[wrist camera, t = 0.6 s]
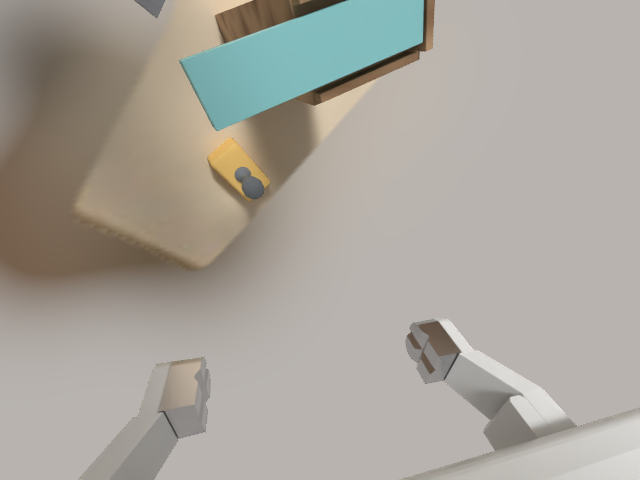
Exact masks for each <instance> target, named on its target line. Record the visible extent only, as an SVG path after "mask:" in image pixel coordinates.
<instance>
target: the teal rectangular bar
mask: <svg viewBox="0 0 640 480" xmlns="http://www.w3.org/2000/svg"><path fill="white" fill-rule="evenodd" d="M423 12H424V0H345V1H342V2H339V3H336V4H334V5H331V6H328V7H325V8H323V9H320V10H317V11H314V12H311V13H309V14H306V15H303V16H300V17H298V18H295V19H292V20H289V21H286V22H284V23H281V24H278V25H275V26H273V27H270V28H267V29H264V30H261V31H259V32H256V33H253V34H250V35H248V36H245V37H242V38H239V39H236V40H234V41H231V42H228V43H225V44H223V45H220V46H217V47H214V48H211V49H209V50H206V51H203V52H200V53H198V54H195V55H192V56H189V57H186V58H184V59H181V60H179V62H180V64H181V66H182V68H183V70H184V72H185V74H186V75H187V77H188V79H189V81H190V83H191V85H192V87H193V89H194V91H195V93H196V95H197V97H198V99H199V101H200V103H201V105H202V107H203V109H204V110H205V112H206V114H207V116H208V118H209V120H210V122H211V124H212V126H213V127H214V128H215V129H216V131H219V130H221V129H223V128H225V127H228V126H230V125H232V124H235V123H237V122H239V121H242V120H244V119H246V118H249V117H251V116H253V115H256V114H258V113H260V112H263V111H265V110H267V109H270V108H272V107H274V106H276V105H279V104H281V103H283V102H286V101H288V100H290V99H293V98H295V97H297V96H300V95H302V94H304V93H307V92H309V91H311V90H314V89H316V88H318V87H321V86H323V85H325V84H327V83H330V82H332V81H334V80H337V79H339V78H341V77H344V76H346V75H348V74H351V73H353V72H355V71H358V70H360V69H362V68H365V67H367V66H369V65H371V64H374V63H376V62H378V61H381V60H383V59H385V58H388V57H390V56H392V55H395V54H397V53H399V52H402V51H404V50H406V49H409V48H411V47H413V46H416V45H418V44H420V43H422V42H423Z"/></svg>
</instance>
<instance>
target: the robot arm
mask: <svg viewBox="0 0 640 480" xmlns="http://www.w3.org/2000/svg"><path fill="white" fill-rule="evenodd" d="M410 330H411V333H410V334H408V335H407V338H406V348H407V351H408V354H409V356H410V357H411V359H413V360H414V361H415V362H417V370H418V371H419V373H420V375H421V377H422V379H423V380H424V382H425V384H427V383H432V382H438V381H443V380H445V381H444V382H445V383H447V384H448V385H449V386H450V387H451V388H452V389H454V390H455V391H456V392H457V393H458V394H460V395H461V396H462V397H463V398H464V399H466V400H467V401H468V402H469V403H471V404H472V405H473V406H474V407H475V408H477V409H478V410H479V411H480V412H481V413H482V414H484V415H485V416H486V417H487V418H488V419H490V420H491V421H490V422H489V423H488V424H487V425H486V427H485V428H484V434H485V435H486V437H487V439H488V440H489V442H490V444H491V445H492V447H493V448H494V450H495V451H494V452H490V453H487V454H484V455H480V456H477V457H474V458H471V459H467V460H464V461H460V462H457V463H454V464H451V465H447V466H444V467H440V468H437V469H434V470H430V471H427V472H424V473H421V474H417V475H414V476H411V477H407V478H404V479H401V480H640V408H637V409H634V410H631V411H627V412H624V413H620V414H617V415H614V416H610V417H607V418H604V419H601V420H597V421H594V422H591V423H587V424H584V425H580V426H576V425H575V424H574V423H573V422H572V421H571V419H570V418H569V417H568V416H567V415H566V414H565V413H564V412H563V411H562V410H561V409H560V407H559V406H558V405H557V404H556V403H555V402H554V401H553V400H552V399H551V397H550V396H549V395H548V394H547V393H546V392H545V391H544V390H543V389H542V388H541V387H539V386H537V385H535V384H534V383H532V382H530V381H529V380H527V379H525V378H523V377H522V376H520V375H519V374H517V373H515V372H513V371H512V370H510V369H509V368H507V367H505V366H503V365H502V364H500V363H498V362H497V361H495V360H493V359H492V358H490V357H488V356H486V355H485V354H483V353H481V352H480V351H478V350H473V349H472V348H471V346H470V345H469V344H468V343H467V341H466V340H465V339H464V338H463V336H462V335H461V334H460V333H459V331H458V330H457V329H456V328H455V327H454V325H453V324H452V323H451V321H450V320H449V319H447V318H440V319H432V320H426V321H421V322H416V323H413V324H411V326H410ZM209 397H210V373H209V370H208V369H206V360H205V357H201V358H194V359H187V360H180V361H172V362H167V363H160V364H156V365H155V367H154V368H153V371H152V374H151V377H150V380H149V383H148V386H147V389H146V393H145V396H144V399H143V402H142V405H141V408H140V412H139V415H138V417H134V418H132V419H131V420H130V421H129V422H128V424H127V425H126V426H125V427H124V428H123V429H122V431H121V432H120V433H119V434H118V435H117V436H116V437H115V438H114V439H113V441H112V442H111V443H110V444H109V445H108V446H107V447H106V449H105V450H104V451H103V452H102V453H101V454H100V455H99V456H98V458H97V459H96V460H95V461H94V462H93V463H92V464H91V465H90V467H89V468H88V469H87V470H86V471H85V472H84V473H83V475H82V476H81V477H80V478H79V479H78V480H154V479H155V477H156V476H157V474H158V472H159V471H160V469H161V467H162V466H163V464H164V463H165V461H166V459H167V458H168V456H169V455H170V453H171V451H172V450H173V448H174V446H175V445H176V443H177V442H178V439H179V438H183V437H187V436H191V435H195V434H199V433H203V432H205V431H206V423H207V415H208V409H207V406H206V401H207V400H208V399H209Z"/></svg>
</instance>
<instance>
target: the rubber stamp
mask: <svg viewBox="0 0 640 480" xmlns="http://www.w3.org/2000/svg"><path fill="white" fill-rule="evenodd" d="M208 162H209V163H210V165H211V166H212V167H213V168H214V169H215V170H216V171H217V172H218V173H219V174H220V175H221V176H222V177H223V178H224V179H225V180H226V181H227V182H228V183H229V184H230V185H231V186H232V187H233V188H234V189H236V190H237V191H238V192H239V193H240V194H241V195H242V196H243V197H244V198H245V199H246V200H247V201H251V200H252V199H258V198H260V197H261V196H262V195H263V193H264V189H265V188H266V187H267V186H268V185H269V184H270V180H269V179H268V178H267V177H266V176H265V175H264V173H263V172H262V171H261V170H260V169H259V168H258V167H257V165H256V164H255V163H254V162H253V161H252V160H251V159H250V157H249V156H248V155H247V154H246V153H245V152H244V151H243V149H242V148H241V147H240V146H239V145H238V144H237V143H236V142H235V140H234V139H233V138H229V139H228V140H226V141H225V142H224V143H223V144H222V145H221V146H220V147H219V148H217V149H216V150H215V151H214V152H213V153H212V154H211V155H210V156H208Z"/></svg>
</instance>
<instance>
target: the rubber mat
mask: <svg viewBox="0 0 640 480" xmlns="http://www.w3.org/2000/svg"><path fill="white" fill-rule="evenodd" d="M135 1H136V2H137V3H138V4H140V5H141V6H142V7H144V8H145V9H146V10H147V11H148V12H150V13H151V14H152V15H153V16H155V17H156V18H157V17H158V15H159V13H160V11H161V8H162V6H163V4H164V2H165V0H135Z"/></svg>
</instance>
